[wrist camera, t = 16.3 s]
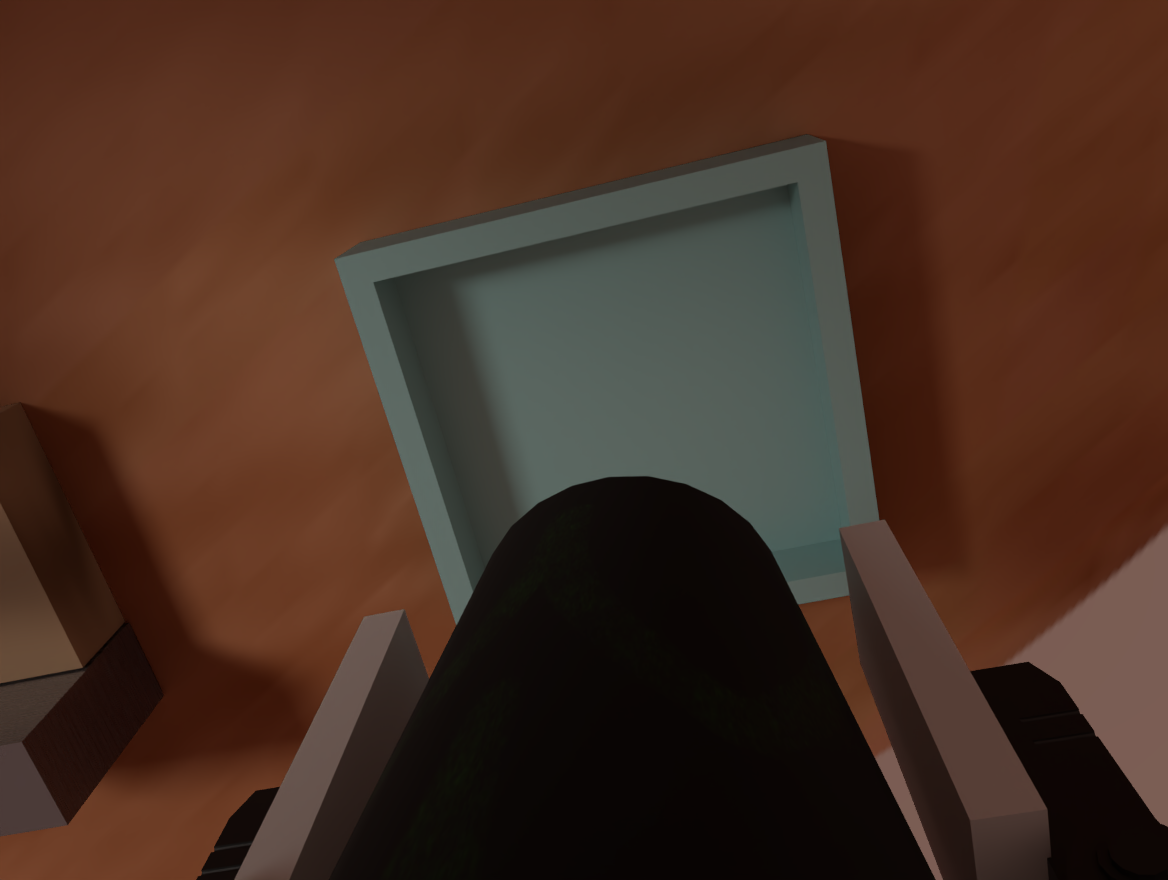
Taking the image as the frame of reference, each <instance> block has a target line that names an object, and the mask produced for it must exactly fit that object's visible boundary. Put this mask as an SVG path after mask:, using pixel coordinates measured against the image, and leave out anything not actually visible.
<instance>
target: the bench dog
mask: <svg viewBox="0 0 1168 880" xmlns="http://www.w3.org/2000/svg"><path fill="white" fill-rule="evenodd" d="M163 696H164V695H163V693H162V691H161V689H160V687H159V684H158V682H157V680H156V678H155V676H154V674H153V672H152V670H151V668H150V666H149V664H148V661H147V659H146V657H145V655H144V653H143V651H142V649H141V647H140V645H139V643H138V641H137V638H136V636H135V634H134V632H133V630H132V628H131V626H130V624H129V623H126V624H123V625H122V626H121V627H120V628H119V629H118V630H117V631H116V632H115V633H114V634H113V635H112V637H111V638H110V639H109V640H108V641H107V642H106V643H105V644H104V645H103V646H102V647H101V649H100V650H99V651H98V652H97V653H96V654H95V655H94V656H93V657H92V658H91V659H90V661H89V662H88V663H87V664H86V665H85V666H84V667H83V668H79V669H73V670H68V671H63V672H58V673H52V674H47V675H42V676H36V677H31V678H26V679H21V680H15V681H10V682H5V683H0V836H5V835H11V834H17V833H23V832H29V831H35V830H41V829H47V828H53V827H59V826H65V825H68V824H69V823H70V821H71V820H72V819H73V817H74V816H75V815H76V813H77V812H78V811H79V809H80V808H81V807H82V805H83V804H84V802H85V801H86V800H87V798H88V797H89V796H90V794H91V793H92V792H93V790H94V789H95V788H96V786H97V785H98V784H99V782H100V781H101V780H102V778H103V777H104V776H105V774H106V773H107V771H108V770H109V769H110V767H111V766H112V765H113V763H114V762H115V761H116V759H117V758H118V757H119V755H120V754H121V753H122V751H123V750H124V749H125V747H126V746H127V745H128V743H129V742H130V741H131V739H132V738H133V736H134V735H135V734H136V732H137V731H138V730H139V728H140V727H141V726H142V724H143V723H144V722H145V720H146V719H147V718H148V716H149V715H150V714H151V712H152V711H153V710H154V708H155V707H156V705H157V704H158V703H159V701H160V700H161V699H162V697H163Z"/></svg>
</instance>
